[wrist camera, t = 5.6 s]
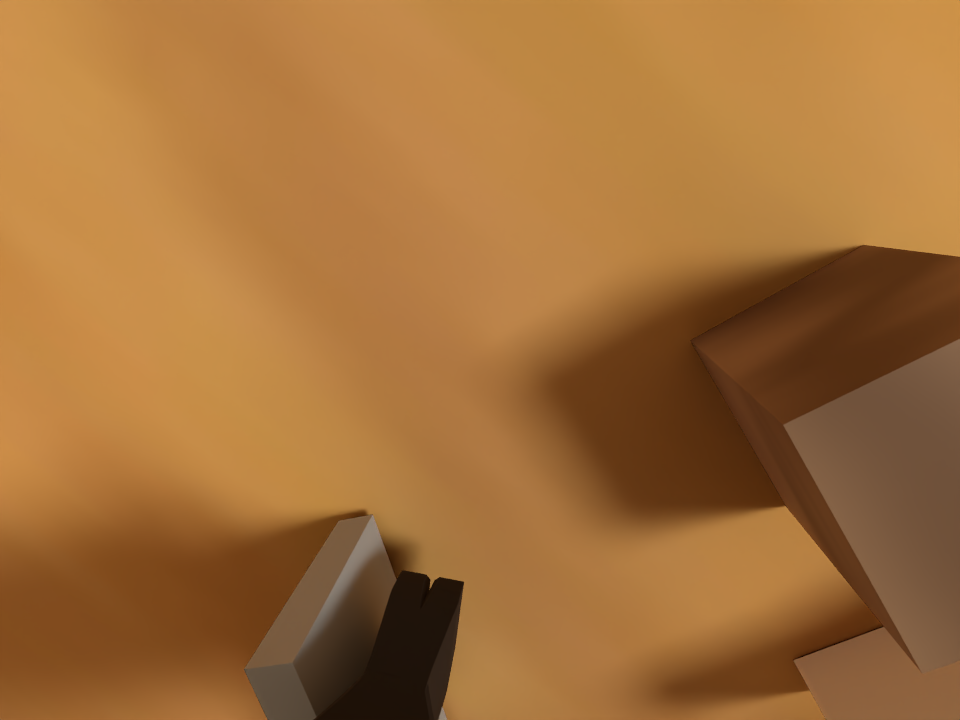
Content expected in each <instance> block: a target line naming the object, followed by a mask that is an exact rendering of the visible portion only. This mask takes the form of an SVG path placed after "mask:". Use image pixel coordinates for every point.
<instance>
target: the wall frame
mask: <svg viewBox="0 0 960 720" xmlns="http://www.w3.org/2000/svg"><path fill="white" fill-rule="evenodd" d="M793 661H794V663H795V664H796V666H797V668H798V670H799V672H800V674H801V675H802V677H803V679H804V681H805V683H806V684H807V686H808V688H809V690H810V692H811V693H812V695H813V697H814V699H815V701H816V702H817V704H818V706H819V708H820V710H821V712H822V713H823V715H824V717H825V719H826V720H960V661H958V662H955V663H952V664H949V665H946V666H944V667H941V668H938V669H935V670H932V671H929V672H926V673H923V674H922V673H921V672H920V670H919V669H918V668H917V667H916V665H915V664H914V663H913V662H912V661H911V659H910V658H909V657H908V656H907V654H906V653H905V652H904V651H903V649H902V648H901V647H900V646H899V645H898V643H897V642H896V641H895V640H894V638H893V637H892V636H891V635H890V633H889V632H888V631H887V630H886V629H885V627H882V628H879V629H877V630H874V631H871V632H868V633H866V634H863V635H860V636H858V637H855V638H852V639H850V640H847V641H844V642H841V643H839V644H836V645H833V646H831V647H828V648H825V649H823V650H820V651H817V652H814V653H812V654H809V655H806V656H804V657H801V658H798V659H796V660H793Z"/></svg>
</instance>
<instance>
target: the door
mask: <svg viewBox="0 0 960 720" xmlns="http://www.w3.org/2000/svg"><path fill="white" fill-rule="evenodd" d="M395 582H396V577H395V575H394V572H393V569H392V566H391V563H390V561H389V558H388V555H387V552H386V550H385V547H384V544H383V541H382V539H381V536H380V533H379V530H378V528H377V525H376V522H375V519H374V517H373V514H372V515H367V516H361V517H356V518H351V519H345V520H340V521H338V523H337V524H336V526H335V527H334V529H333V530H332V532H331V534H330V535H329V537H328V538H327V540H326V541H325V543H324V545H323V546H322V548H321V549H320V551H319V552H318V554H317V556H316V557H315V559H314V560H313V562H312V563H311V565H310V566H309V568H308V570H307V571H306V573H305V574H304V576H303V577H302V579H301V581H300V582H299V584H298V585H297V587H296V588H295V590H294V592H293V593H292V595H291V596H290V598H289V599H288V601H287V603H286V604H285V606H284V607H283V609H282V610H281V612H280V614H279V615H278V617H277V618H276V620H275V621H274V623H273V625H272V626H271V628H270V629H269V631H268V632H267V634H266V636H265V637H264V639H263V640H262V642H261V643H260V645H259V647H258V648H257V650H256V651H255V653H254V654H253V656H252V658H251V659H250V661H249V662H248V664H247V665H246V667H245V669H244V670H245V673H246V675H247V677H248V679H249V681H250V683H251V685H252V687H253V690H254V692H255V694H256V696H257V698H258V700H259V702H260V704H261V707H262V709H263V711H264V713H265V715H266V717H267V719H268V720H314V719H315V718H316V717H317V716H318V715H320V714H321V713H322V712H323V711H324V710H325V709H326V708H328V707H329V706H330V705H331V704H332V703H333V702H334V701H336V700H337V699H338V698H339V697H340V696H341V695H342V694H343V693H344V692H345V691H346V690H347V689H349V688H350V687H351V686H352V685H353V684H354V683H355V682H356V681H357V680H358V679H359V678H360V677H361V676H362V675H363V674H364V672H365V670H366V667H367V665H368V662H369V659H370V657H371V654H372V651H373V647H374V644H375V641H376V638H377V635H378V631H379V628H380V625H381V622H382V618H383V615H384V612H385V609H386V606H387V602H388V599H389V596H390V593H391V590H392V588H393V586H394V584H395ZM439 720H447V718H446V715H445V712H444V710H443V707H442V709H441V713H440V716H439Z"/></svg>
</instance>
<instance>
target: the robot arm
mask: <svg viewBox="0 0 960 720" xmlns="http://www.w3.org/2000/svg"><path fill="white" fill-rule="evenodd" d="M463 585H464V582H462V581H457V580H452V579H446V578H441V577H439V578H438V579H436V580H435V581H434V583H433V585H432V587H431V588H430V579H429V577H428V576H427V575H425V574H420V573H414V572H409V571H404V570H402V572H401V573H400V575H399V577H398V579H397V580H396V582H395V584H394V586H393V588H392V590H391V593H390V596H389V599H388V602H387V606H386V609H385V612H384V615H383V618H382V622H381V625H380V628H379V631H378V635H377V638H376V641H375V644H374V647H373V651H372V654H371V657H370V659H369V662H368V665H367V667H366V670H365V672H364V674H363V675H362V676H361V677H360V678H359V679H358V680H357V681H356V682H355V683H354V684H353V685H352V686H351V687H350V688H349V689H347V690H346V691H345V692H344V693H343V694H342V695H341V696H340V697H339V698H338V699H337V700H336V701H334V702H333V703H332V704H331V705H330V706H329V707H328V708H326V709H325V710H324V711H323V712H322V713H321V714H320V715H318V716H317V717H316V718H315V719H314V720H439V716H440V713H441V709H442V706H443V702H444V699H445V695H446V692H447V687H448V682H449V677H450V671H451V666H452V661H453V656H454V650H455V644H456V637H457V629H458V622H459V614H460V607H461V600H462V592H463ZM429 588H430V590H429Z"/></svg>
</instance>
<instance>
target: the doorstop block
mask: <svg viewBox="0 0 960 720" xmlns="http://www.w3.org/2000/svg"><path fill="white" fill-rule="evenodd" d="M690 341H691V343H692V344H693V346H694V348H695V350H696V351H697V353H698V355H699V356H700V358H701V360H702V362H703V363H704V365H705V367H706V369H707V370H708V372H709V374H710V376H711V377H712V379H713V381H714V382H715V384H716V386H717V388H718V389H719V391H720V393H721V395H722V396H723V398H724V400H725V401H726V403H727V405H728V407H729V408H730V410H731V412H732V414H733V415H734V417H735V419H736V421H737V422H738V424H739V426H740V427H741V429H742V431H743V433H744V434H745V436H746V438H747V440H748V441H749V443H750V445H751V447H752V448H753V450H754V452H755V453H756V455H757V457H758V459H759V460H760V462H761V464H762V466H763V467H764V469H765V471H766V473H767V474H768V476H769V478H770V479H771V481H772V483H773V485H774V486H775V488H776V490H777V492H778V493H779V495H780V497H781V499H782V500H783V502H784V504H785V505H786V507H787V508H788V509H789V511H790V512H791V513H792V514H793V515H794V517H795V518H796V519H797V520H798V522H799V523H800V524H801V525H802V527H803V528H804V529H805V530H806V531H807V533H808V534H809V535H810V536H811V538H812V539H813V540H814V541H815V542H816V544H817V545H818V546H819V547H820V549H821V550H822V551H823V552H824V554H825V555H826V556H827V557H828V558H829V560H830V561H831V562H832V563H833V565H834V566H835V567H836V568H837V570H838V571H839V572H840V573H841V574H842V576H843V577H844V578H845V579H846V581H847V582H848V583H849V584H850V586H851V587H852V588H853V589H854V590H855V592H856V593H857V594H858V595H859V597H860V598H861V599H862V600H863V602H864V603H865V604H866V605H867V606H868V608H869V609H870V610H871V611H872V613H873V614H874V615H875V616H876V618H877V619H878V620H879V621H880V622H881V624H882V625H883V626H884V627H885V629H886V630H887V631H888V632H889V633H890V635H891V636H892V637H893V638H894V640H895V641H896V642H897V643H898V645H899V646H900V647H901V648H902V649H903V651H904V652H905V653H906V654H907V656H908V657H909V658H910V659H911V661H912V662H913V663H914V664H915V665H916V667H917V668H918V669H919V670H920V672H921V673H922V674H923V673H926V672H929V671H932V670H935V669H938V668H941V667H944V666H946V665H949V664H952V663H955V662H958V661H960V257H956V256H948V255H940V254H932V253H924V252H916V251H908V250H900V249H892V248H884V247H876V246H868V245H863V246H861V247H859V248H857V249H856V250H854V251H852V252H850V253H848V254H846V255H845V256H843V257H841V258H839V259H837V260H836V261H834V262H832V263H830V264H828V265H827V266H825V267H823V268H821V269H819V270H817V271H816V272H814V273H812V274H810V275H808V276H807V277H805V278H803V279H801V280H799V281H798V282H796V283H794V284H792V285H790V286H788V287H787V288H785V289H783V290H781V291H779V292H778V293H776V294H774V295H772V296H770V297H768V298H767V299H765V300H763V301H761V302H759V303H758V304H756V305H754V306H752V307H750V308H749V309H747V310H745V311H743V312H741V313H739V314H738V315H736V316H734V317H732V318H730V319H729V320H727V321H725V322H723V323H721V324H719V325H718V326H716V327H714V328H712V329H710V330H709V331H707V332H705V333H703V334H701V335H700V336H698V337H696V338H694V339H692V340H690Z"/></svg>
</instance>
